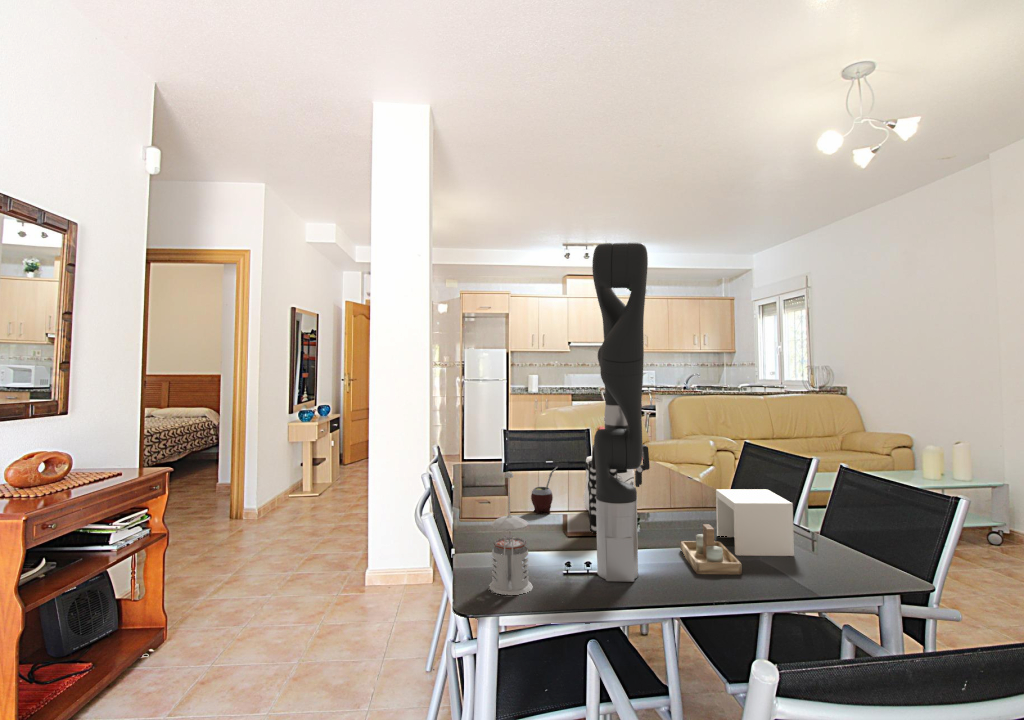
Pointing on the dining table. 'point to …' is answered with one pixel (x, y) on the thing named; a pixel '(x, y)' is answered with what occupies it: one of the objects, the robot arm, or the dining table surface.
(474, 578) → the dining table surface
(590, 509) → the white-spotted black cylinder
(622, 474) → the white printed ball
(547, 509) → the mate gourd
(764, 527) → the white open block
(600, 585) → the dining table surface
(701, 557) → the tray
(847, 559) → the dining table surface
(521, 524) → the french press
